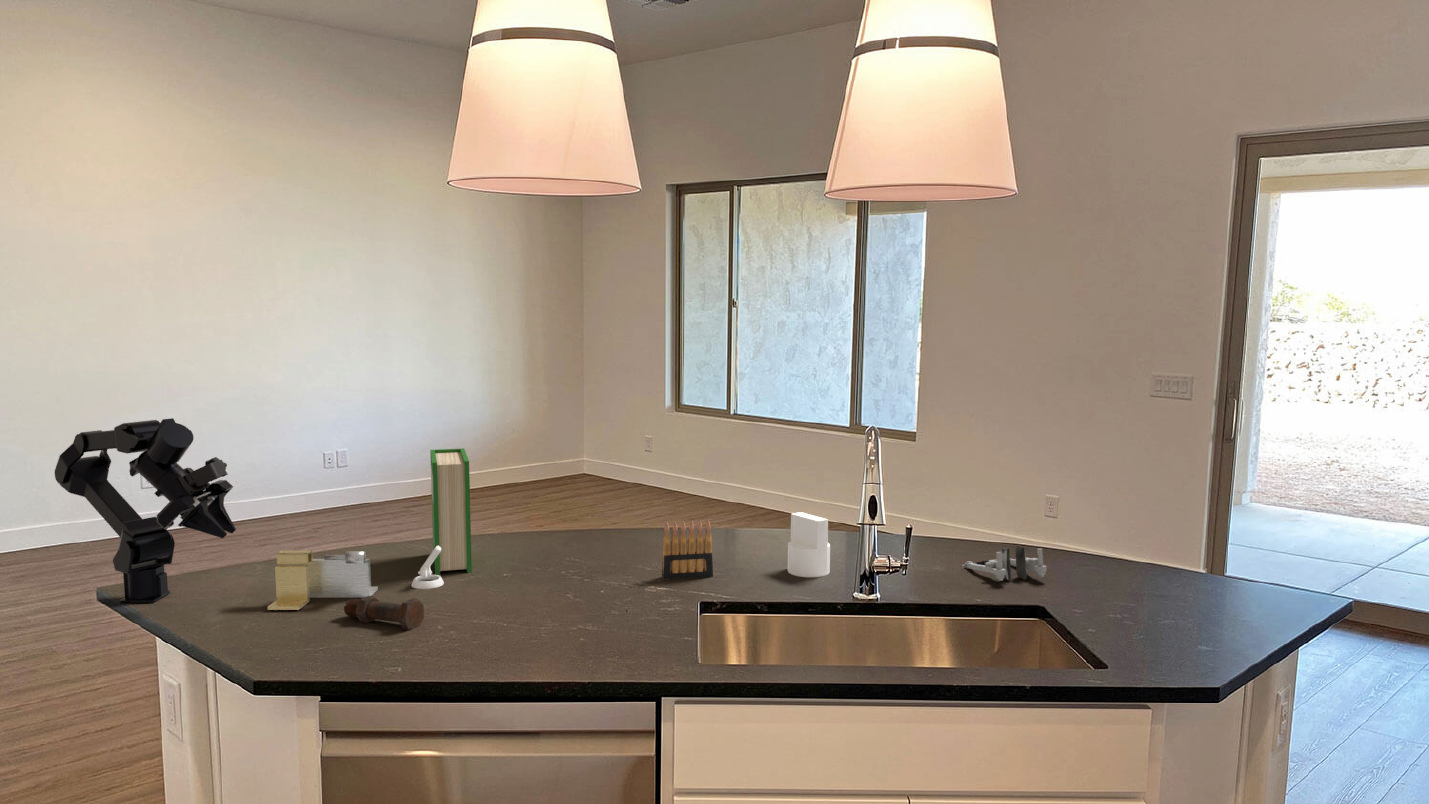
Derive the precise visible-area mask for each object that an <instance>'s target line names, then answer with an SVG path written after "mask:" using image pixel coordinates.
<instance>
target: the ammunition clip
mask: <svg viewBox="0 0 1429 804" xmlns="http://www.w3.org/2000/svg"><path fill="white" fill-rule="evenodd" d="M669 525H670V524H669V522H668V521H666V523H665V524H664V530H663V541H662V565H661V567H662V569H661V578H662V580H664V581H665V580H679V579H682V580H683V579H695V578H696V579H697V578H712V577H714V565H713V563H714V562H713V538H712V530H711V529H712V526H711V523H710V520H709V519H708V520H706V523H705V528H704V529H705V532H704V531H703V525H702V521H701V520H698V523H697V528H696V538H695V525H694V521H693V520H690V522H689V526H688V527H689V528H688V536H687V527H686V523H685V521H684V520H683V521H682V522H681V527H680V535H679V529H678V524H677V521H674V522H673V525H672V530H671V531H672V533H671V532H670V526H669ZM671 534H672V536H671ZM679 537H680V538H679ZM687 537H688V538H687Z"/></svg>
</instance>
